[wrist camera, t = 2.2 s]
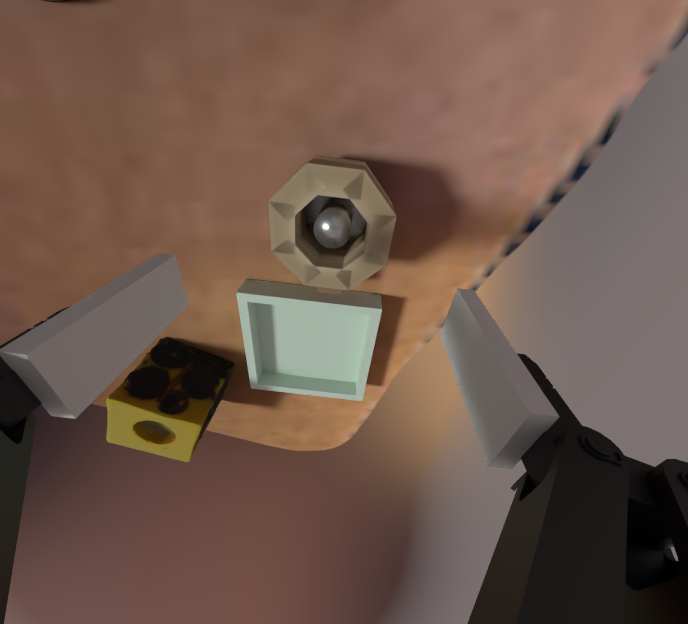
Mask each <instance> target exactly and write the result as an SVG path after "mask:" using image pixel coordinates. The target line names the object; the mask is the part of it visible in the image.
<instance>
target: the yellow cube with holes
mask: <svg viewBox="0 0 688 624" xmlns="http://www.w3.org/2000/svg"><path fill="white" fill-rule="evenodd" d="M233 367H234V364H233V363H232V362H229V361H228V360H224V359H221V358H220V357H217V356H213V355H211V354H209V353H206V352H203V351H200V350H197V349H194V348H192V347H189V346H185V345H182V344H180V343H178V342H175V341H171V340H169V339H167V338H162V339H160V340H159V341H158V343H157V345H156V346H154V347H153V348H152V349H151V351H150V352H149V353H147V354H146V356H145V358H144V359H143V360H142V362H141V363H140V364H139V365H138V367H137V368H136V369H135V370H134V371H133V372H131V373H130V374H129V375H128V376H127V378H126V379H125V380H124V382H123V383H122V384H121V385H120V386H119V387H118V388H117V389H116V390H115V391H114V392H113V393H112V394H111V395H110V396H109V397H108V398H107V400H106V404H107V409H108V416H107V419H108V427H107V438H106V440H107V441H108V442H109V443H114V444H118V445H122V446H126V447H130V448H134V449H138V450H142V451H146V452H150V453H153V454H157V455H161V456H165V457H169V458H172V459H176V460H180V461H185V462H189V461H190V459H191V457H192V455H193V453H194V450H195V449H196V447H197V445H198V443H199V440H200V439H201V438H202V436H203V433H204V432H205V430H206V428H207V426H208V424H209V422H210V421H211V419H212V416H213V415H214V413H215V411H216V408H217V407H218V404H219V403H220V401H221V398H222V396H223V391H224V390H225V389H226V386H227V383H228V381H229V378H230V376H231V371H232V369H233Z"/></svg>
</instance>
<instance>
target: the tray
mask: <svg viewBox="0 0 688 624" xmlns="http://www.w3.org/2000/svg"><path fill="white" fill-rule="evenodd" d="M236 294H237V300H238V307H239V313H240V320H241V326H242V333H243V340H244V346H245V353H246V359H247V366H248V372H249V379H250V386H251V388H252V389H260V390H269V391H278V392H287V393H296V394H305V395H313V396H322V397H331V398H340V399H349V400H358V401H362V400H363V395H364V391H365V386H366V382H367V377H368V372H369V368H370V363H371V359H372V354H373V350H374V345H375V340H376V336H377V331H378V327H379V322H380V318H381V313H382V302H381V294H374V293H365V292H357V291H348V290H342V295H340V294H332V293H323V292H317V287H314V286H305V285H296V284H288V283H279V282H270V281H262V280H253V279H246V280H245V282H244V283H243V284H242V286H241V287H240V288H239V290H238V291H237V292H236Z"/></svg>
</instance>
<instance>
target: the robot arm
mask: <svg viewBox="0 0 688 624" xmlns="http://www.w3.org/2000/svg"><path fill="white" fill-rule="evenodd" d="M45 1H63V0H45ZM187 306H188V301H187V297H186V293H185V290H184V286H183V282H182V279H181V275H180V271H179V268H178V264H177V260H176V257H175V255H170V254H161V253H158V254H156V255H155V256H153V257H151V258H150V259H148V260H146V261H145V262H143V263H141V264H140V265H138V266H137V267H135V268H133V269H132V270H130V271H128V272H127V273H125V274H123V275H122V276H120V277H118V278H117V279H115V280H113V281H112V282H110V283H108V284H107V285H105V286H103V287H102V288H100V289H98V290H97V291H95V292H94V293H92V294H90V295H89V296H87V297H85V298H84V299H82V300H80V301H79V302H77V303H75V304H74V305H72V306H70V307H67V308H65V309H62V310H60V311H58V312H56V313H55V314H53V315H51V316H50V317H48V318H46V320H45V321H41V322H40V323H38V324H36V325H35V326H33V328H32V329H31V328H30V329H28V330H26V331H25V332H23V333H21V334H20V335H18V336H16V337H15V338H13V339H11V340H9V341H8V342H6V343H4V344H3V345H1V346H0V624H4V619H5V613H6V606H7V600H8V594H9V588H10V581H11V575H12V568H13V563H14V556H15V550H16V544H17V538H18V531H19V525H20V519H21V513H22V506H23V500H24V494H25V487H26V481H27V475H28V469H29V462H30V456H31V450H32V444H33V437H34V431H35V424H36V418H35V415H34V414H33V413H32V411H33V410H34V409H35V408H37V407H38V406H39V405H40V404H42V406H43V407H44V408H45V409H46V410H47V411H48V413H49V414H50V415H51V416H57V417H66V418H74V419H75V418H77V416H78V415H80V414H81V412H82V411H84V410H85V409H86V408H87V406H88V405H90V404H91V403H92V402H93V401H94V400H95V399H96V398H97V397H98V396H99V395H100V394H101V393H102V392H103V391H104V389H105V388H106V387H107V386H108V385H109V384H110V383H111V382H112V381H113V380H114V379H115V378H116V377H117V376H118V375H119V374H120V373H121V372H122V371H123V370H124V369H125V368H126V367H127V366H128V365H129V364H130V363H131V362H132V361H133V360H134V359H135V358H136V357H137V356H138V355H139V354H140V353H141V352H142V351H143V350H144V349H145V348H146V347H147V346H148V345H149V344H150V343H151V342H152V341H153V340H154V339H155V338H156V337H157V336H158V335H159V334H160V333H161V332H162V331H163V330H164V329H165V328H166V327H167V326H168V325H169V324H170V323H171V322H172V321H173V320H174V319H175V318H176V317H177V316H178V315H179V314H180V313H181V312H182V311H183V310H184V309H185V308H186V307H187ZM440 336H441V339H442V342H443V345H444V347H445V350H446V353H447V355H448V358H449V361H450V364H451V367H452V369H453V372H454V375H455V377H456V380H457V383H458V386H459V388H460V391H461V394H462V397H463V399H464V402H465V405H466V408H467V410H468V413H469V415H470V418H471V421H472V424H473V427H474V429H475V432H476V435H477V437H478V440H479V443H480V446H481V449H482V451H483V454H484V457H485V459H486V462H487V465H488V466H491V467H499V468H508V469H512V468H513V467H514V466H515V465H516V464H517V463H518V462H519V461H520V460H522V462H523V464H524V466H525V468H526V470H527V471H526V472H525V473H524V474H523V476H521V477H520V479H519V480H517V481H516V482H515V483H514V485H513V486H512V487H511V489H513V490H514V491H515V490H516V488H517V491H516V494H515V497H514V499H513V502H512V505H511V507H510V510H509V513H508V516H507V518H506V521H505V524H504V527H503V529H502V532H501V535H500V537H499V540H498V543H497V545H496V548H495V551H494V553H493V556H492V559H491V562H490V564H489V567H488V570H487V572H486V575H485V578H484V580H483V583H482V586H481V589H480V592H479V594H478V597H477V599H476V602H475V605H474V608H473V610H472V613H471V616H470V619H469V621H468V624H688V463H687V462H683V461H680V460H676V459H666V460H665V461H663V462H662V463H660V464H659V465H657V466H656V467H653V466H651V465H648V464H645V463H643V462H640V461H637V460H635V459H632V458H629V457H626V456H624V455H623V453H622V452H621V450H620V449H619V448H618V447H617V446H616V445H615V444H614V443H613V442H612V441H611V440H610V439H608V438H607V437H605V436H604V435H602V434H601V433H599V432H597V431H595V430H593V429H590V428H588V427H585V426H582V425H581V424H580V422H579V421H578V420H577V418H576V417H575V416H574V414H573V413H572V411H571V410H570V409H569V407H568V406H567V405H566V404H565V402H564V400H563V399H562V398H561V396H560V395H559V394H558V392H557V391H556V390H555V389H553V385H552V384H551V383H550V381H549V380H548V379H546V376H545V375H544V373H543V372H542V370H541V369H540V368H539V366H538V365H537V364H536V363H535V362H533V361H532V360H531V359H530V358H528V357H527V356H526V355H525V354H517V353H516V352H515V350H514V349H513V347H512V346H511V344H510V343H509V341H508V340H507V338H506V337H505V336H504V334H503V333H502V331H501V330H500V328H499V327H498V325H497V324H496V322H495V321H494V319H493V318H492V316H491V315H490V313H489V312H488V310H487V309H486V308H485V306H484V305H483V303H482V301H481V300H480V299H479V297H478V296H477V294H476V293H475V291H474V290H466V289H457V291H456V294H455V296H454V299H453V302H452V304H451V307H450V309H449V312H448V315H447V317H446V320H445V322H444V325H443V327H442V330H441V333H440ZM673 546H674V548H675V551H676V553H677V556H678V561H676V560H675V558H674V556H673V554H672V551H671V548H670V547H673Z"/></svg>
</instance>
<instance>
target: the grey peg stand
mask: <svg viewBox="0 0 688 624" xmlns="http://www.w3.org/2000/svg"><path fill="white" fill-rule="evenodd" d="M365 224H366V220H365V219H364V217H363V216H362V215H361V213H360V212H359V211H358V209H357V208H356V207H355V205H354V204H353V203H352V201H351V200H350V199H347V198H338V197H330V196H321V195H317V196H316V197H315V198H314V199H313V200H311V201H310V202H309V203H308V204H307V226H308V227H309V228H310V229H311V230H312V231H313V233H314V235H315V237H316V239H317V241H318V242H319V243H320V244H321V245H323V246H325V247H327V248H339V247H341V246H343V245H344V246H346V245H347V244H349V243H350V242H351V241H353V240H354V239H355V238H357V237H358V236H359V235H360V234H362V233H363V232H364V231H365Z"/></svg>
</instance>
